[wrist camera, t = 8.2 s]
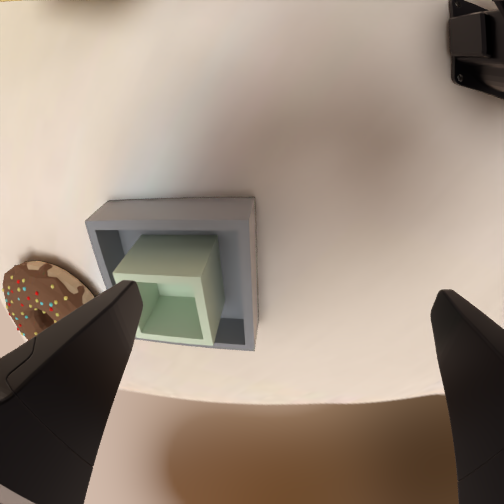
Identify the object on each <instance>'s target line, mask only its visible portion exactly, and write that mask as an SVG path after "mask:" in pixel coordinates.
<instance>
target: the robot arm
mask: <svg viewBox="0 0 504 504" xmlns="http://www.w3.org/2000/svg"><path fill="white" fill-rule="evenodd" d="M492 1H494V2H495V4H496V5H497V7H498V9H496V10H490V11H488V10H486V9H484V8H482V7H479V6H477V5H474V4H472V3H469V2H467V1H464V0H450V1H449V6H450V18H451V19H450V20H449V30H450V53H451V54H452V80H453V82H454V83H455V84H457V85H460V86H464V87H467V88H471V89H474V90H477V91H480V92H484V93H487V94H490V95H493V96H496V97H498V98H501V99H504V0H492ZM455 2H456V3H457V4H458V7H457V6H456V5H455ZM458 75H460V78H461V79H460V81H459V80H458V78H457V77H458ZM142 310H143V301H142V298H141V294H140V291H139V288H138V285H137V283H136V282H135V281H133V280H122V281H120V282H119V283H117V284H115V285H114V286H112V287H111V288H109V289H107V290H106V291H104V292H103V293H101V294H99V295H98V296H96V297H95V298H93V299H91V300H90V301H88V302H87V303H85V304H84V305H82V306H80V307H79V308H77V309H76V310H74V311H73V312H71V313H70V314H68V315H66V316H65V317H63V318H62V319H60V320H59V321H57V322H56V323H54V324H53V325H51V326H50V327H48V328H47V329H45V330H44V331H42V332H41V333H39V334H38V335H37V336H34V337H33V338H31V339H30V340H29V341H27V342H26V343H24V344H23V345H21V346H19V347H18V348H17V349H15V350H13V351H12V352H10V353H8V354H7V355H5V356H3V357H2V358H0V504H84V500H85V496H86V492H87V488H88V485H89V481H90V477H91V473H92V469H93V467H92V466H94V462H95V459H96V455H97V452H98V448H99V445H100V442H101V438H102V435H103V432H104V429H105V426H106V422H107V419H108V416H109V413H110V410H111V407H112V404H113V401H114V398H115V395H116V393H117V390H118V387H119V384H120V381H121V378H122V376H123V373H124V370H125V367H126V365H127V362H128V359H129V356H130V353H131V351H132V347H133V344H134V340H135V336H136V332H137V328H138V325H139V321H140V317H141V314H142ZM431 323H432V328H433V334H434V340H435V346H436V353H437V359H438V364H439V368H440V373H441V377H442V381H443V386H444V390H445V395H446V400H447V405H448V410H449V416H450V422H451V429H452V434H453V442H454V450H455V458H456V468H457V479H458V497H459V504H504V329H503V328H501V327H500V326H499V325H498V324H496V323H495V322H494V321H493V320H491V319H490V318H489V317H488V316H486V315H485V314H484V313H483V312H481V311H480V310H479V309H477V308H476V307H475V306H473V305H472V304H471V303H470V302H468V301H467V300H466V299H464V298H463V297H462V296H460V295H459V294H457V293H456V292H455V291H453V290H451V289H444V290H440V291H439V292H438V294H437V297H436V300H435V302H434V305H433V307H432V310H431Z"/></svg>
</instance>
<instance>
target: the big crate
mask: <svg viewBox="0 0 504 504" xmlns="http://www.w3.org/2000/svg"><path fill="white" fill-rule="evenodd" d="M85 224H86V228H87V231H88V234H89V238H90V241H91V244H92V248H93V251H94V254H95V257H96V260H97V263H98V266H99V269H100V272H101V275H102V278H103V281H104V284H105V286H106V289H109V288H111V287H112V286H114V285H115V284H116V282H115V279H114V276H113V271H114V270H115V269H116V267H117V266H118V265H119V263H120V262H121V261H122V259H123V258H124V257H125V255H126V254H127V253H128V251H129V250H130V249H131V248H132V246H133V245H134V244H135V242H136V241H137V240H138V239H139V237H140V236H141V235H218V244H219V253H220V261H221V270H222V278H223V286H224V294H225V303H224V307H223V310H222V314H221V318H220V322H219V326H218V330H217V333H216V337H215V341H214V345H213V346H208V345H196V344H186V343H176V342H167V341H159V340H150V339H143V338H137V337H136V336H135V339H138V340H145V341H153V342H160V343H168V344H177V345H186V346H195V347H206V348H217V349H230V350H244V351H255V344H256V337H257V329H258V321H259V319H258V284H257V250H256V217H255V197H208V198H159V199H132V200H111V201H107V202H106V203H105V204H104V205H102V206H101V207H100V208H99V209H98V210H97V211H96V212H94V213H93V214H92V215H91V216H90V217H89V218H88V219H86V220H85Z"/></svg>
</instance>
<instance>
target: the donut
mask: <svg viewBox="0 0 504 504" xmlns="http://www.w3.org/2000/svg"><path fill="white" fill-rule="evenodd" d="M2 291H3V292H4V295H5V300H6V305H7V306H6V308H7V310H8V312H9V315H10V316H11V317H12V319H13V320H14V322H15V324H16V325H17V330H20V332H21V335H24V336H25V337H26V338H27V339H28V341H29V340H30V339H31V338H33V337H34V336H37V335H38V334H39V333H41V332H42V331H44V330H45V329H47V328H48V327H50V326H51V325H53V324H54V323H56V322H57V321H59V320H60V319H62V318H63V317H65V316H66V315H68V314H70V313H71V312H73V311H74V310H76V309H77V308H79V307H80V306H82V305H84V304H85V303H87V302H88V301H90V300H91V299H93V298H95V297H94V296H93V294H92V293H91V292H90V290H89V289H88V288H87V287H86V286H85V285H84V284H82V283H81V282H80V281H79V280H78V279H77V278H76V277H74V276H73V275H72V274H70V273H69V272H67V271H66V270H64V269H62V268H60V267H58V266H55V265H52V264H49V263H45V262H41V261H30V262H26V261H25V262H24V263H22V264H20V265H14V267H13V268H12V269H11V270H9V271H8V272H7V273H5V274H4V280H3V289H2Z"/></svg>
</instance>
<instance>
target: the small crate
mask: <svg viewBox="0 0 504 504" xmlns="http://www.w3.org/2000/svg"><path fill="white" fill-rule="evenodd" d="M113 276H114V279H115V282H116V284H117V283H119V282H120V281H122V280H133V281H135V282H136V283H137V285H138V288H139V291H140V294H141V298H142V301H143V310H142V314H141V317H140V321H139V325H138V328H137V332H136V337H137V338H143V339H150V340H159V341H167V342H176V343H186V344H196V345H208V346H213V345H214V341H215V337H216V333H217V330H218V326H219V322H220V318H221V314H222V310H223V307H224V303H225V294H224V286H223V278H222V270H221V261H220V253H219V244H218V235H141V236H140V237H139V239H138V240H137V241H136V242H135V244H134V245H133V246H132V248H131V249H130V250H129V251H128V253H127V254H126V255H125V257H124V258H123V259H122V261H121V262H120V263H119V265H118V266H117V267H116V269H115V270H114V271H113Z"/></svg>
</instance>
